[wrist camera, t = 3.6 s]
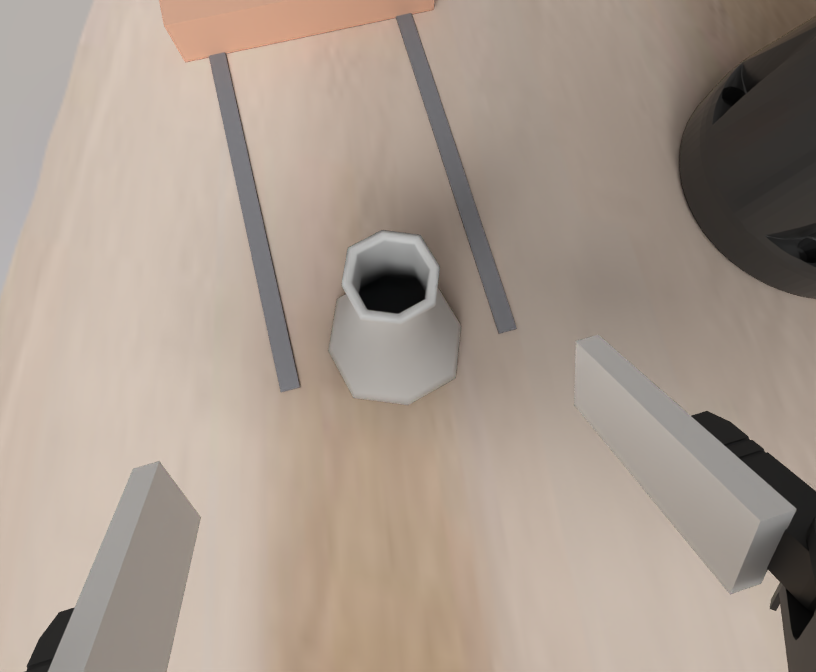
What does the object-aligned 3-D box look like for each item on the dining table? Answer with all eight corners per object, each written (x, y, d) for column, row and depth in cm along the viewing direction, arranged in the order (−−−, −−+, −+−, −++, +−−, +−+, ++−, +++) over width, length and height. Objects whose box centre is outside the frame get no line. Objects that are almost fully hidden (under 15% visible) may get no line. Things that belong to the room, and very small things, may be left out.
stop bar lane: (423, -20, 29) (425, -62, 26) (542, 322, 24) (558, 309, 22) (179, 30, 28) (157, -9, 25) (252, 399, 23) (235, 396, 20)
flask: (475, 392, 23) (528, 364, 13) (339, 418, 23) (293, 409, 13) (446, 265, 25) (476, 157, 15) (318, 288, 24) (263, 192, 15)
